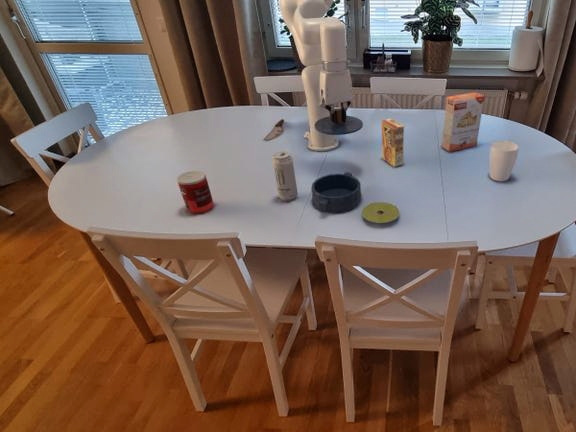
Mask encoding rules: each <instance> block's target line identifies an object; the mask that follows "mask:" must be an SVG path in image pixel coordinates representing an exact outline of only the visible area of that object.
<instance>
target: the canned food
mask: <svg viewBox="0 0 576 432" xmlns="http://www.w3.org/2000/svg"><path fill="white" fill-rule="evenodd" d="M176 182H177V184H178V185H177V186H178V188H179V190H180V193H181V197H182V199H183V202H184V205H185V208H186V210H187V211H188V213H190V214H194V215H201V214H204V213H207V212H209V211H211V210H212V209H213V208H214V200H213V196H212V193H211V189H210V186H209V181H208V179H207V175H206V174H205V172H204V171H201V170H191V171H186V172H184V173H181V174H179V175H178V176H177V177H176Z"/></svg>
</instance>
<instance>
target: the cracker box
mask: <svg viewBox="0 0 576 432" xmlns="http://www.w3.org/2000/svg"><path fill="white" fill-rule="evenodd" d="M484 101H485V95H483V94H481V93H479V92H477V91H474V92H469V93H462V94H456V95H451V96H450V95H449V96H446V101H445V110H444V121H443V130H442V139H441V148H443V149H444V150H445V151H447V152H448V153H450V152H455V151H459V150H464V149H468V148H473V147H477V144H478V139H479V132H480V125H481V119H482V113H483V108H484Z"/></svg>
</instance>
